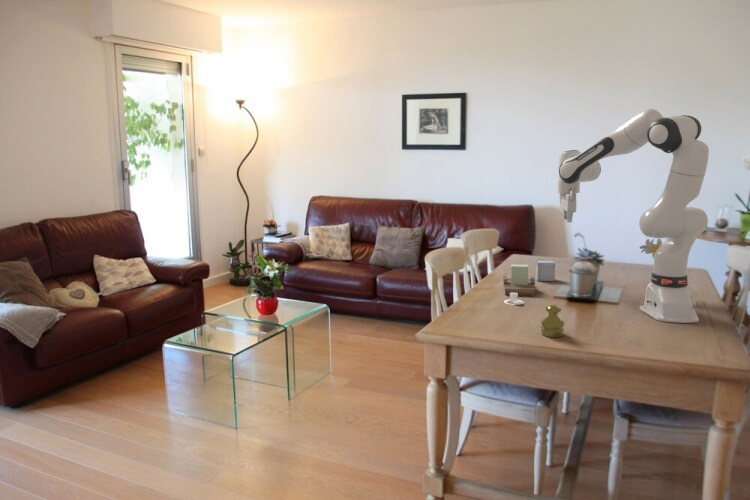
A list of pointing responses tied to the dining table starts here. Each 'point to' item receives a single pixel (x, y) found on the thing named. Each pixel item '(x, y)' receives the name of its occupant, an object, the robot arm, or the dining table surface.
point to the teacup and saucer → (514, 299)
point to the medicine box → (545, 270)
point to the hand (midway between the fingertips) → (567, 220)
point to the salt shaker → (552, 323)
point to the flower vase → (651, 248)
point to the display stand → (519, 287)
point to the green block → (519, 274)
